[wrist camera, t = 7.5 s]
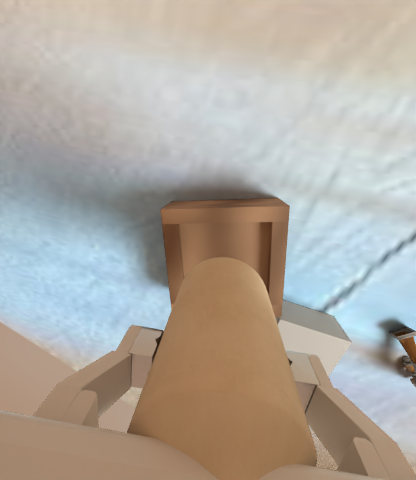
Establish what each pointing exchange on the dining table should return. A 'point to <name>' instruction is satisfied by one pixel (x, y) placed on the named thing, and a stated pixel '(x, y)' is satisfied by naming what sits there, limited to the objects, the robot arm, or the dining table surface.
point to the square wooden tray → (227, 239)
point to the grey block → (312, 334)
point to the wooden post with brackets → (408, 350)
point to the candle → (225, 378)
